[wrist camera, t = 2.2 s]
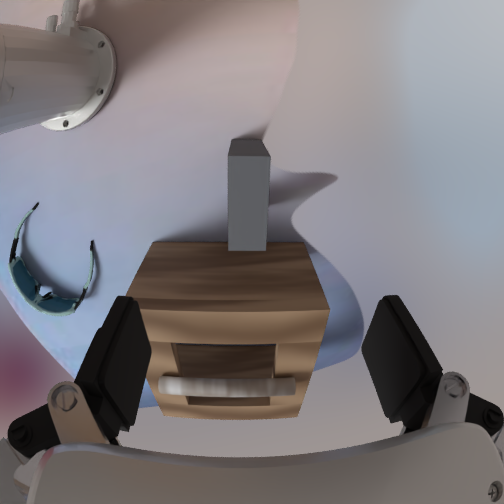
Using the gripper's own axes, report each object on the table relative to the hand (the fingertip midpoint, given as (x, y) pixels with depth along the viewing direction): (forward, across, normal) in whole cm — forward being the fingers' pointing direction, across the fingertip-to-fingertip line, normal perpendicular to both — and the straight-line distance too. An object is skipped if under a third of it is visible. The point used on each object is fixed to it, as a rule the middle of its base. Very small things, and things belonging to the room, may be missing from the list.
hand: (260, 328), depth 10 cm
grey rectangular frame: (+22, 0, 0) cm, 22 cm away
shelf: (+22, +2, +18) cm, 28 cm away
